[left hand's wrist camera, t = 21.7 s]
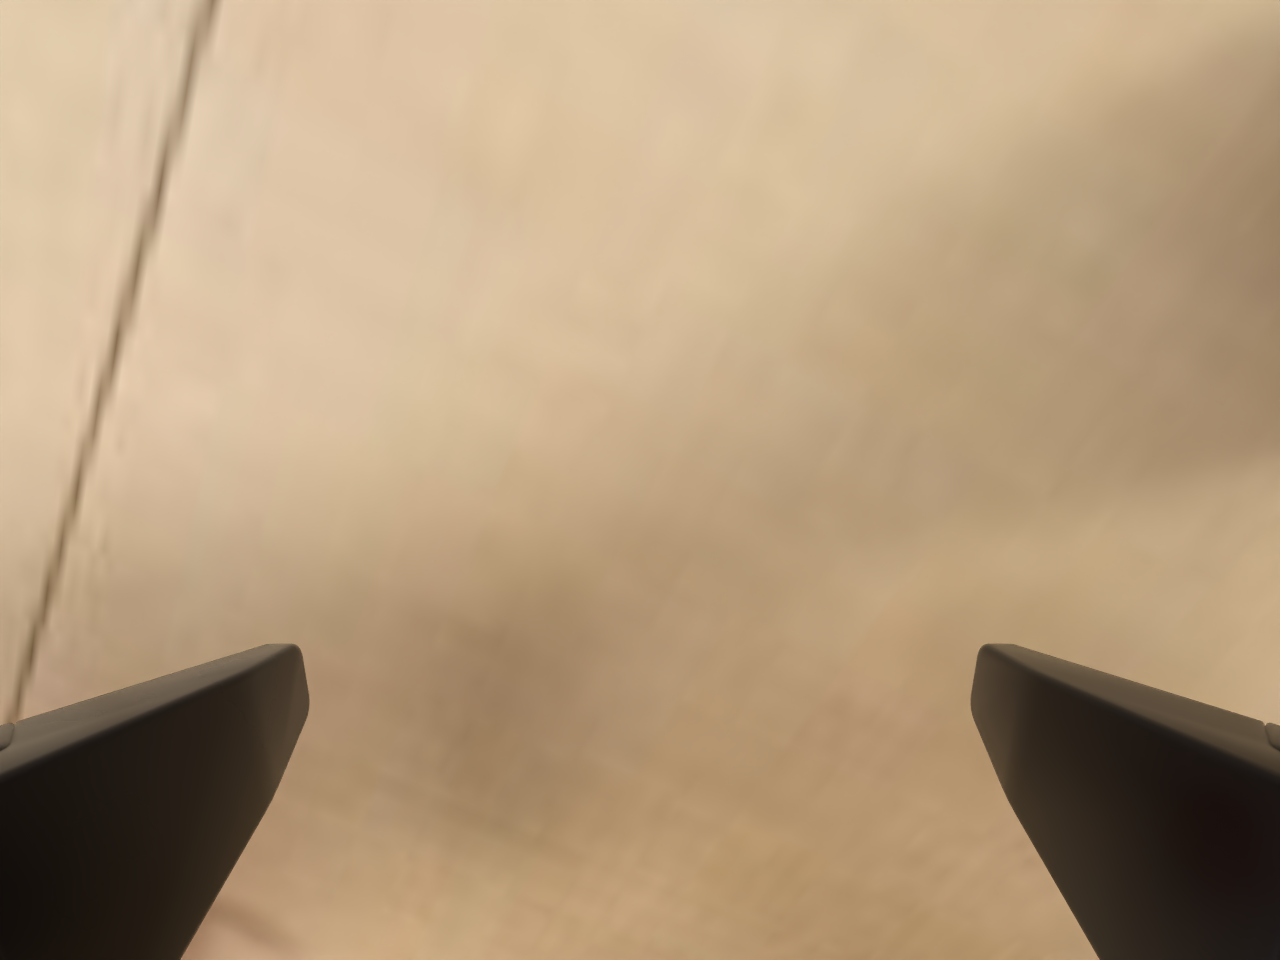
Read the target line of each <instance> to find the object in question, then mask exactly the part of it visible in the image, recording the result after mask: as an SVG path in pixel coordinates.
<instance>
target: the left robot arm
mask: <svg viewBox="0 0 1280 960" xmlns="http://www.w3.org/2000/svg"><path fill="white" fill-rule="evenodd" d="M308 711H309V693H308V687H307V680H306V674H305V668H304V662H303V656H302V653H301V650H300V648H299V647H298V646H297V645H295V644H266V645H263V646H259V647H256V648H253V649H250V650H247V651H243V652H240V653H237V654H234V655H230V656H227V657H224V658H221V659H218V660H214V661H211V662H208V663H205V664H201V665H198V666H195V667H192V668H188V669H185V670H182V671H179V672H176V673H172V674H169V675H166V676H163V677H159V678H156V679H153V680H150V681H147V682H143V683H140V684H137V685H134V686H130V687H127V688H124V689H121V690H117V691H114V692H111V693H108V694H105V695H101V696H98V697H95V698H92V699H88V700H85V701H82V702H79V703H76V704H72V705H69V706H66V707H63V708H59V709H56V710H53V711H50V712H46V713H43V714H40V715H37V716H34V717H30V718H27V719H24V720H21V721H18V722H17V723H16V725H15V726H14V724H13V723H7V724H4V725H1V726H0V960H180V959H181V957H182V956H183V954H184V952H185V951H186V949H187V947H188V945H189V944H190V942H191V940H192V938H193V937H194V935H195V933H196V932H197V930H198V928H199V926H200V925H201V923H202V921H203V919H204V918H205V916H206V914H207V912H208V911H209V909H210V907H211V906H212V904H213V902H214V900H215V899H216V897H217V895H218V893H219V892H220V890H221V888H222V886H223V885H224V883H225V881H226V880H227V878H228V876H229V874H230V873H231V871H232V869H233V867H234V866H235V864H236V862H237V860H238V859H239V857H240V855H241V854H242V852H243V850H244V848H245V847H246V845H247V843H248V841H249V840H250V838H251V836H252V835H253V833H254V831H255V829H256V828H257V826H258V824H259V822H260V821H261V819H262V817H263V815H264V814H265V812H266V810H267V808H268V806H269V804H270V803H271V801H272V799H273V797H274V794H275V792H276V790H277V788H278V786H279V783H280V781H281V779H282V776H283V774H284V771H285V769H286V767H287V764H288V762H289V759H290V757H291V755H292V752H293V750H294V747H295V745H296V743H297V740H298V738H299V735H300V733H301V731H302V728H303V726H304V723H305V721H306V718H307V715H308ZM971 711H972V715H973V718H974V721H975V723H976V726H977V728H978V731H979V733H980V735H981V738H982V740H983V743H984V745H985V747H986V750H987V752H988V755H989V757H990V759H991V762H992V764H993V767H994V769H995V771H996V774H997V776H998V779H999V781H1000V783H1001V786H1002V788H1003V790H1004V792H1005V794H1006V797H1007V799H1008V801H1009V803H1010V804H1011V806H1012V808H1013V810H1014V812H1015V814H1016V815H1017V817H1018V819H1019V821H1020V822H1021V824H1022V826H1023V828H1024V829H1025V831H1026V833H1027V835H1028V836H1029V838H1030V840H1031V841H1032V843H1033V845H1034V847H1035V848H1036V850H1037V852H1038V854H1039V855H1040V857H1041V859H1042V861H1043V862H1044V864H1045V866H1046V867H1047V869H1048V871H1049V873H1050V874H1051V876H1052V878H1053V880H1054V881H1055V883H1056V885H1057V886H1058V888H1059V890H1060V892H1061V893H1062V895H1063V897H1064V899H1065V900H1066V902H1067V904H1068V906H1069V907H1070V909H1071V911H1072V912H1073V914H1074V916H1075V918H1076V919H1077V921H1078V923H1079V925H1080V926H1081V928H1082V930H1083V932H1084V933H1085V935H1086V937H1087V938H1088V940H1089V942H1090V944H1091V945H1092V947H1093V949H1094V951H1095V952H1096V954H1097V956H1098V958H1099V959H1100V960H1280V726H1279V725H1276V724H1273V723H1267V724H1266V726H1265V725H1264V723H1263V722H1262V721H1259V720H1256V719H1253V718H1250V717H1246V716H1243V715H1240V714H1237V713H1234V712H1230V711H1227V710H1224V709H1221V708H1217V707H1214V706H1211V705H1208V704H1204V703H1201V702H1198V701H1195V700H1192V699H1188V698H1185V697H1182V696H1179V695H1175V694H1172V693H1169V692H1166V691H1163V690H1159V689H1156V688H1153V687H1150V686H1146V685H1143V684H1140V683H1137V682H1133V681H1130V680H1127V679H1124V678H1121V677H1117V676H1114V675H1111V674H1108V673H1104V672H1101V671H1098V670H1095V669H1092V668H1088V667H1085V666H1082V665H1079V664H1075V663H1072V662H1069V661H1066V660H1062V659H1059V658H1056V657H1053V656H1050V655H1046V654H1043V653H1040V652H1037V651H1033V650H1030V649H1027V648H1024V647H1020V646H1017V645H1014V644H985V645H983V646H982V647H981V648H980V650H979V653H978V656H977V662H976V668H975V674H974V680H973V687H972V693H971Z"/></svg>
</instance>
